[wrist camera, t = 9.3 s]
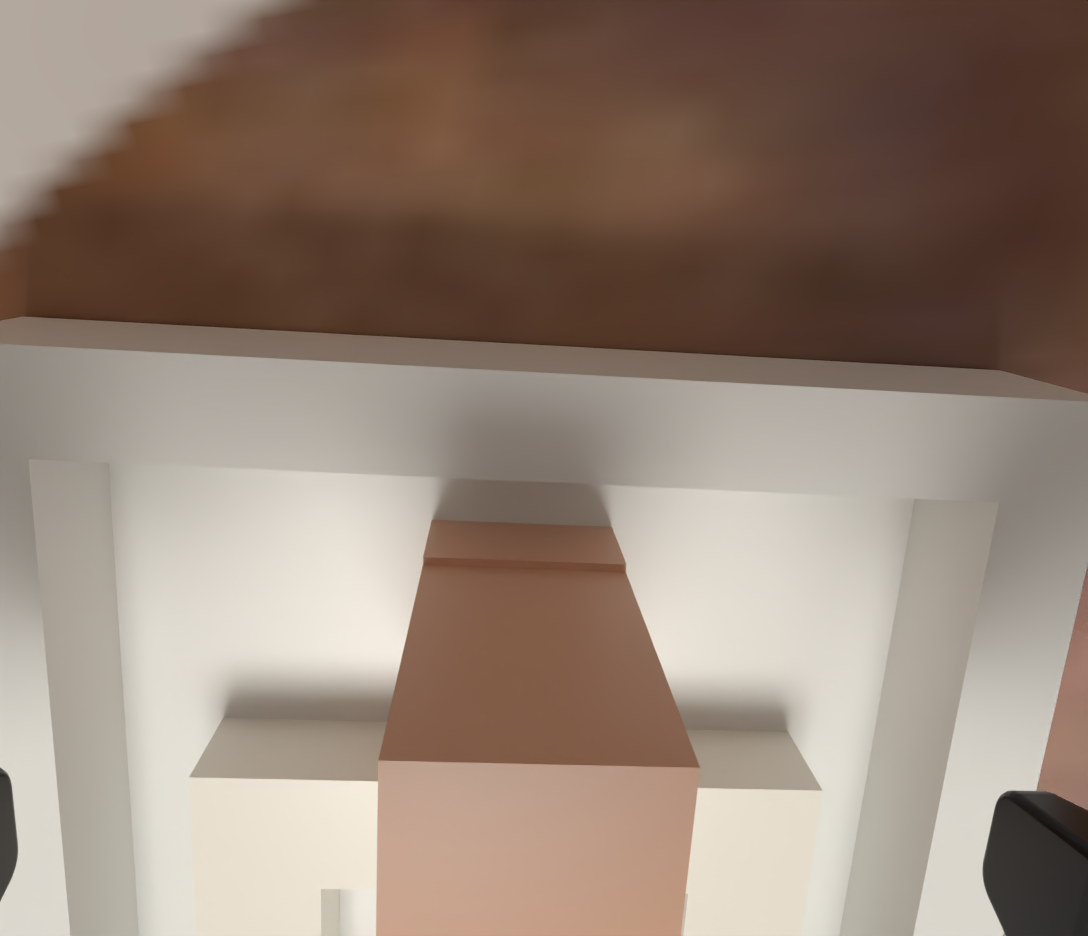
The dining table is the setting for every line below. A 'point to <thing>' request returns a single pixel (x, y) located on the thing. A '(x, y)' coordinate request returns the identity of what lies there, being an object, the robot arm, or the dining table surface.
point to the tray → (532, 498)
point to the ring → (508, 775)
